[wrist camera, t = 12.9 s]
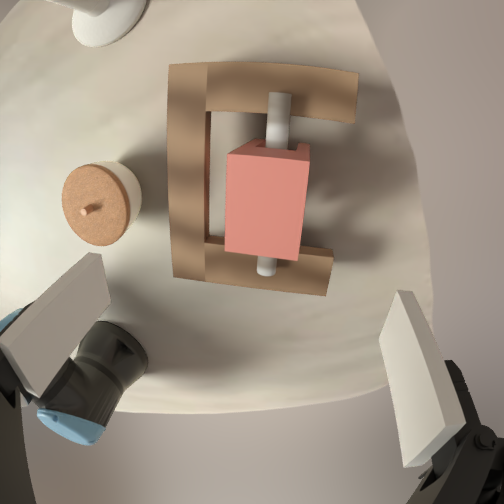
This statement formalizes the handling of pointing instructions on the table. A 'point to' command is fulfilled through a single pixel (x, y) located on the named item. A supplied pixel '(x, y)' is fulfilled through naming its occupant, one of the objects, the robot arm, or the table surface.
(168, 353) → the table surface
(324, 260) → the wooden frame with rod
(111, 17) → the candlestick
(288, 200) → the salmon red channel block
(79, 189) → the lidded jar
